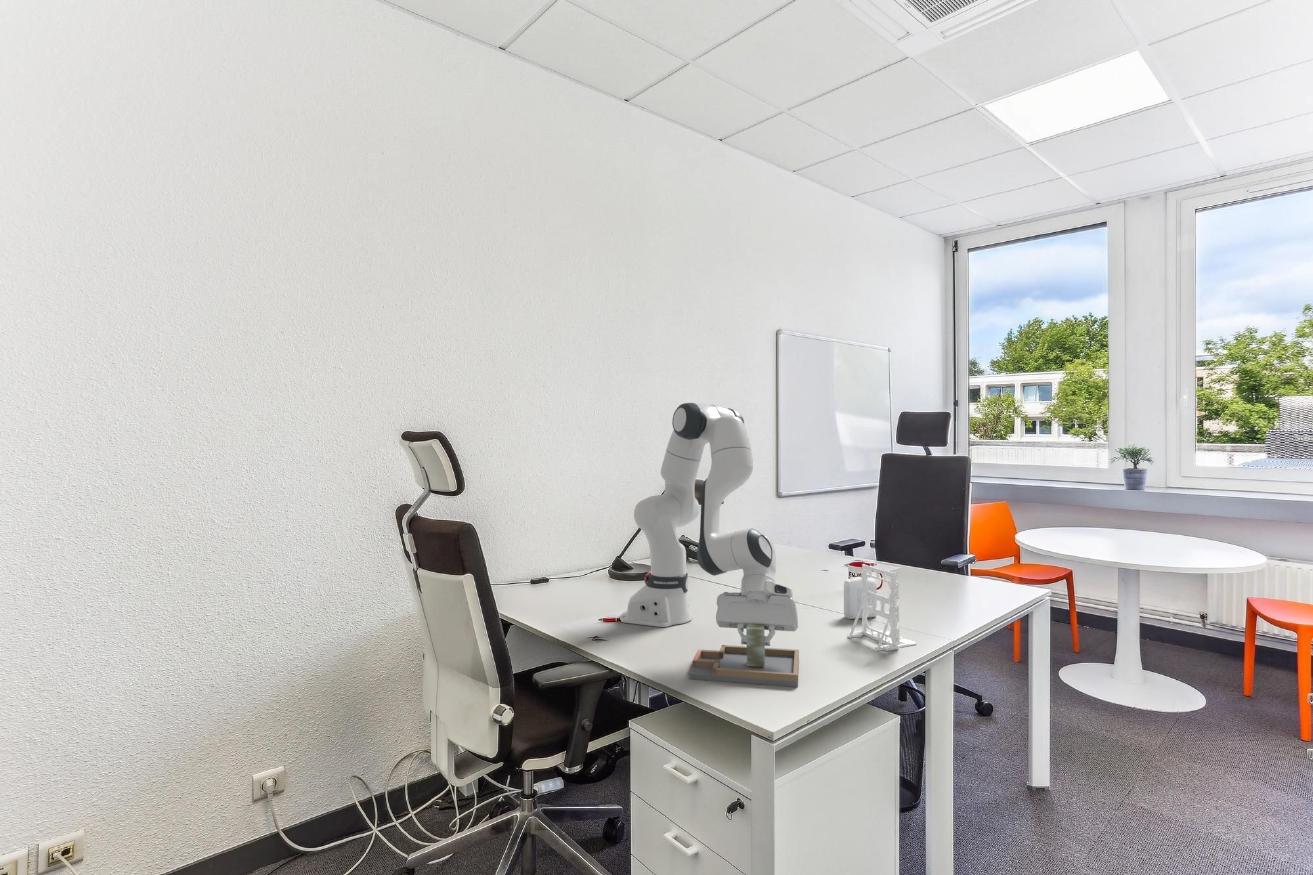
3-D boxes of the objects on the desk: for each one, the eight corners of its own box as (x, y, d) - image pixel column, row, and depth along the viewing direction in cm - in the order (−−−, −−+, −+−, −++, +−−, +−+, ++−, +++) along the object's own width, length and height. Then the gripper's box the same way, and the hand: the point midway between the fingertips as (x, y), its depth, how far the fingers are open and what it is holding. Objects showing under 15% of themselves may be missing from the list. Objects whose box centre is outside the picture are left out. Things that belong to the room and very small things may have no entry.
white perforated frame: (921, 645, 168) (920, 570, 168) (879, 652, 163) (878, 575, 163) (884, 630, 181) (883, 561, 181) (844, 636, 176) (843, 565, 176)
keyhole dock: (689, 678, 148) (688, 667, 148) (701, 654, 164) (700, 643, 164) (797, 686, 142) (797, 674, 142) (799, 660, 158) (798, 649, 158)
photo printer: (871, 613, 198) (870, 574, 198) (879, 617, 194) (878, 577, 194) (841, 616, 195) (841, 576, 195) (849, 620, 191) (848, 579, 191)
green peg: (747, 665, 151) (746, 628, 151) (748, 659, 155) (747, 623, 155) (763, 666, 150) (763, 629, 150) (764, 660, 154) (764, 624, 154)
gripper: (716, 585, 162) (711, 635, 152) (797, 588, 157) (797, 640, 147) (719, 598, 166) (714, 647, 157) (798, 601, 161) (798, 652, 152)
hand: (755, 644), depth 152 cm, fingers closed on green peg, 4 cm apart
